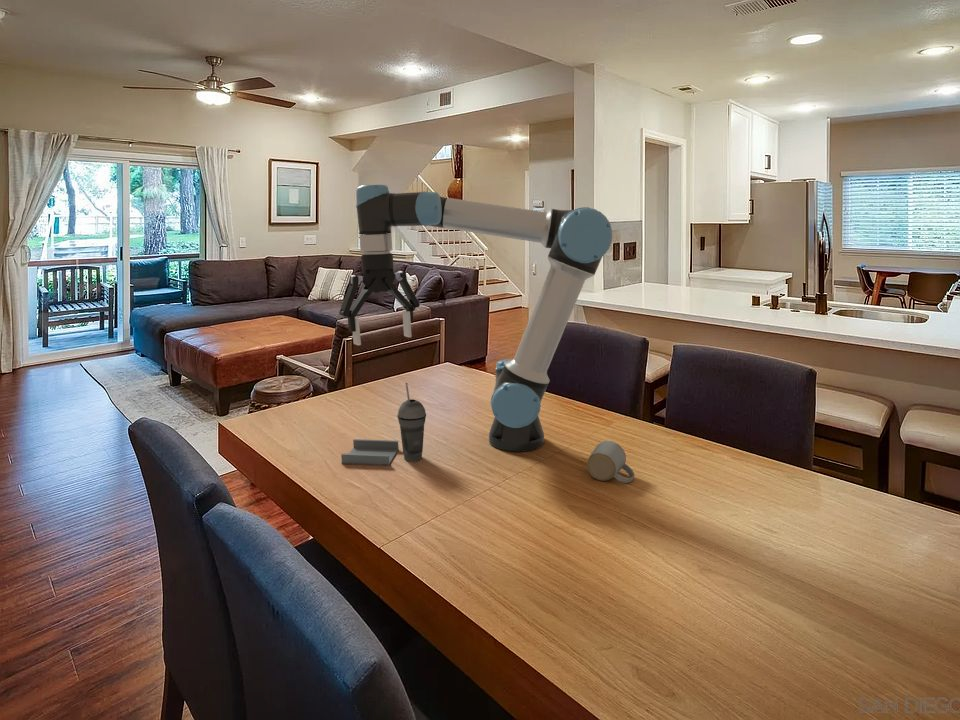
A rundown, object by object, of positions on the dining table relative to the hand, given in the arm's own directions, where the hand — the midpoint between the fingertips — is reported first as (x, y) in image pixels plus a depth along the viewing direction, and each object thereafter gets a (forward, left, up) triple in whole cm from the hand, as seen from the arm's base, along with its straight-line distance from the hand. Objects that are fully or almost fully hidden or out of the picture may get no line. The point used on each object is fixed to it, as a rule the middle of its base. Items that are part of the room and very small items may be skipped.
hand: (383, 340), depth 144 cm
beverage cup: (-7, 0, -31) cm, 31 cm away
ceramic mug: (-56, +6, -31) cm, 64 cm away
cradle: (+4, 0, -31) cm, 31 cm away
